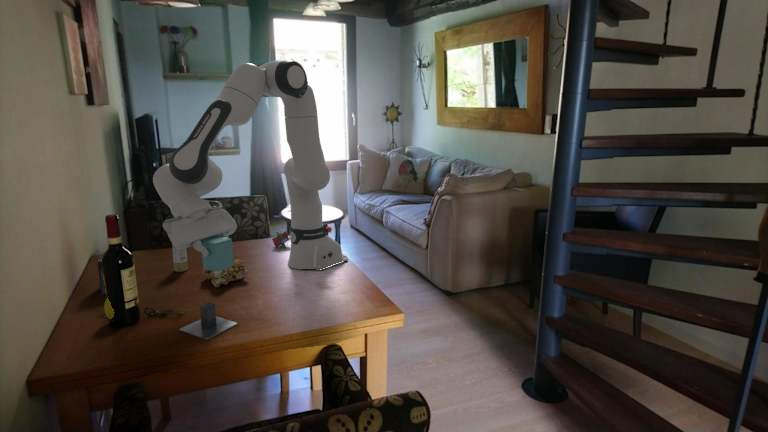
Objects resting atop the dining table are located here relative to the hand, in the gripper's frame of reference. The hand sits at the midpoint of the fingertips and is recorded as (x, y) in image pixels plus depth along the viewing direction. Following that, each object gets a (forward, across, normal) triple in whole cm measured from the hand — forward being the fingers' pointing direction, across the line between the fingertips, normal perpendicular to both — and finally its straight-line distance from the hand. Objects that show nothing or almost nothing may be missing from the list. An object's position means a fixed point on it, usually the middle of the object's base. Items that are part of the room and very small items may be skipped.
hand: (219, 251), depth 131 cm
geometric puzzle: (-5, +53, +29) cm, 60 cm away
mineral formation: (+1, +14, +22) cm, 26 cm away
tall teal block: (+3, 0, +4) cm, 5 cm away
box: (-15, -10, +37) cm, 42 cm away
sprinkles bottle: (-13, +13, +36) cm, 40 cm away
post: (+17, -12, +5) cm, 22 cm away
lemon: (+1, -22, +21) cm, 31 cm away
